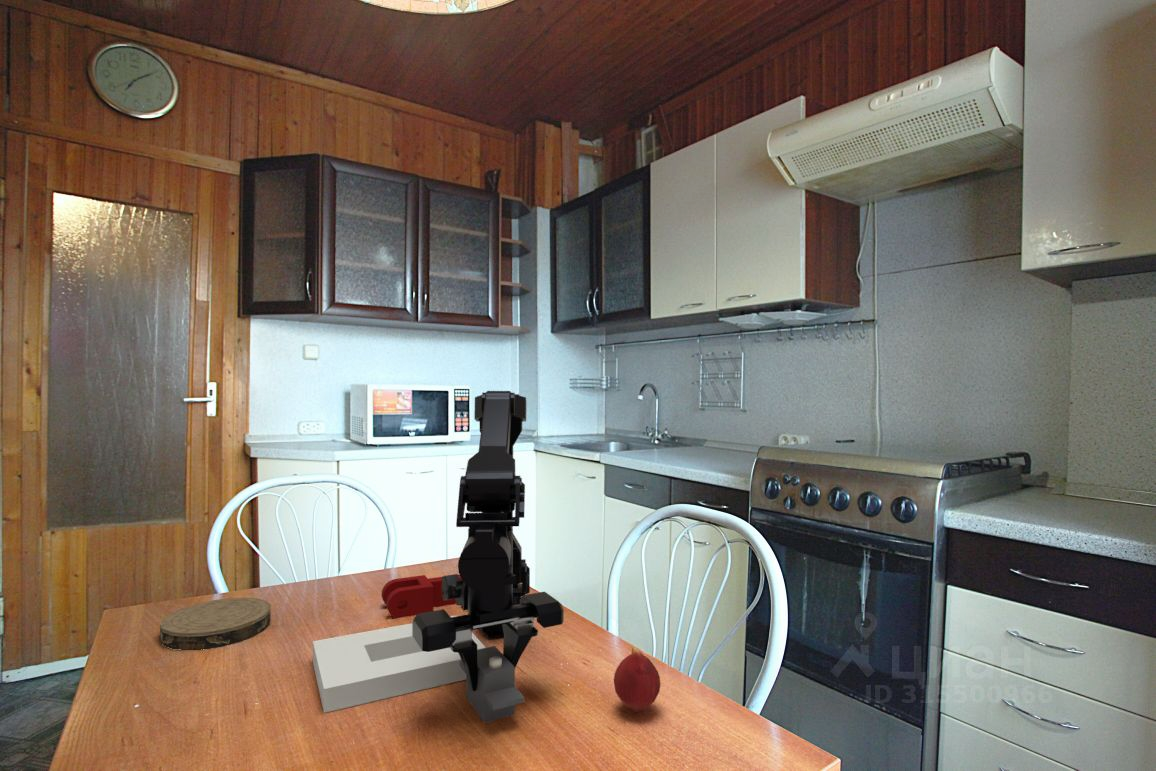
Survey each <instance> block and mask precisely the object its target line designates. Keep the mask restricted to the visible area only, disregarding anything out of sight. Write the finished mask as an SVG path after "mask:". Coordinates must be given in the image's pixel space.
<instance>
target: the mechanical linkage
mask: <svg viewBox="0 0 1156 771" xmlns="http://www.w3.org/2000/svg"><path fill="white" fill-rule="evenodd" d="M458 576H459V580H462V579H461V577H460V574H458ZM381 599H382V602H383V603H384V604H385V606H386V609H387V611H388V614H389V615H390V616H391V617H392V618H394V619H400V618H406V617H407V618H408V617H413V616H414V617H415V616H416V615H417V614H419V613H425V612H430V611H434V608H437V607H445V606H451V605H456V599H451V600H443V596H442V576H437V577H431V578H428V577H427V576H426V575H425V574H423V575H415V576H408V577H400V578H394V579H390V580H389V581H387V582H386V584H384V586H383V588H382V590H381Z"/></svg>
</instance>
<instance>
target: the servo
mask: <svg viewBox="0 0 1156 771" xmlns="http://www.w3.org/2000/svg"><path fill="white" fill-rule="evenodd" d="M459 665H460V667H461V668H462V669H463V671H464V672H465V669H464V666H463V663H462V661H459ZM465 674H466V672H465ZM515 675H516V668H515V667H514V666H513V665H512V664H511V663H510V661H509V660H508V659H507V658H506V657H505V656H504V655H503V652H501V651H500V650H499V648H498V647H497V646H496V645H493V646H488V647H486V648H483V649H478V650H477V676H478V681H477V688H476V691H473V690H472V689H471V687H470V684H469V681H468V678H467V675H466V680H465V681H466V682H465V685H466V686H465V687H466V688H465V689H466V690H465V691H466V693H465V696H466V699H467V700H468V702H469V703H470V705H471V706H472V708H473V709H474V711H475V712H476V713H477V715H478V716H479V718H480V720H482V723H483V724H486V723H489V722H493V721H496V720H501V719H505V718H507V717H512V716H515V714H516V713H515V706H516V705H520V704H522V703H523V704H524V703H525V696H524V695H523V694H522V692H520V691H519V689H517V687H516V681H515V680H516V676H515Z"/></svg>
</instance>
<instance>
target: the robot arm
mask: <svg viewBox="0 0 1156 771" xmlns="http://www.w3.org/2000/svg"><path fill="white" fill-rule="evenodd" d="M473 414H474V415H473V416H474V417H473V418H474V420H475V422H477V423H479V433H480V436H479V446H478V450H477V451H478V452H476V453H475V454H474V455H473V456H471V457H470V458H469V459H468V460H467V465H466V469H465V474H464V475H461V476H460V479H459V487H458V488H459V489H458V500H457V502H458V503H457V513H456V522H455V524H456V528H467V535H468V536H467V540H466V541H465V544H464V547H463V549H462V550H461V553H460V556H459V558H458V562H457V569H458V574H457V573H454V574H449V575H448V574H447V575H442V576H441V577H442V596H443V600H451V599H456V604H455V605H456V606H460V609H461V610H463V611H467V614H463V615H462V614H461V615H457V617H450V616H451V615H449V613H448V612H447V611H446V610H445V608H443V609H436V610H433V611H430V612H425V613H419V614H417V615H415V616H414V618H413V620H412V636H413V637H414V639H415V640H416V642H417V643H418V645H419V647H420V648H421V650H422V651H425V652H431V651H435V650H440V649H445V648H451V650H452V651H453V652H458V653H459V655H460V658H461V661H462V663H463V666H464V669H465V672H466V675H467V678H468V681H469V684H470V687H471V689H472V690H473V691H476V688H477V681H478V676H477V644H476V643H475V642H474V640H473V639H472V633H473V631H474V630H479V631H481V633H483V634H484V636H485V637H486V638H487V639H488V640H492V639H498V638H502V637H503V650H502V651H503V652H502V654H503V655H504V656H505V657H506V658H507V659H508V660H509V661H510V663H511V664H512V665H513V666H514V667H515V669H516V667H517V665H518V662H519V660H520V658H521V657H522V655H523V653H524V651H525V650H526V648H527V647H528V644H529V643H530V641H531V640H532V638H534V637H537V636H538V634H539V630H538V629H537V628H536V627H535V626H534V622H535V619H536V623H537V624H539V625H540V626H541V627H542V628H543V629H546V628H550V627H555V626H556V627H557V626H560V625H561V626H562V625H563V623H564V611H565V610H564V608H563V604H562V602H560V601H559V600H557V598H555V597H553V596H552V595H550V594H549V593H548V592H546V591H541V592H534V593H533V592H532V593H530V592H531V590H530V589H531V586H530V582H531V581H530V580H531V578H530V574H531V571H530V570H531V568H530V567H529V566H528V564H527V563H526V561H527V560H526V559H525V558H522V557H523V556H522V554H523V553H522V552H523V550H522V546H521V544H520V543H519V541H518V539H517V537H516V536H515V534H514V529H513V528H514V527H520V522H521V521H520V520H521V519H520V518H523V519H524V518H525V505H526V504H525V502H526V500H525V496H526V484H525V483H524V482H523V478H522V477H521V475H516V459H515V458H514V446H515V445H516V442H517V441H518V439H519V437H520V436H521V433H522V432H523V422H524V423H525V422H527V397H526V396H522V395H520V393H519V394H518V393H517V394H516V393H515V392H512V391H511V390H487V391H486V392H482V393H481V394H480V395H477V396H475V397H474V413H473ZM465 508H466V511H467V512H465ZM458 575H460V577H461V579H462V580H459V576H458Z"/></svg>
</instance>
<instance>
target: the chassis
mask: <svg viewBox="0 0 1156 771" xmlns="http://www.w3.org/2000/svg"><path fill="white" fill-rule="evenodd" d="M449 616H450V617H457V616H458V615H449ZM472 639H473V640H474V642H475V643H476V644H477V650H478V649H483V648H487V647H486V646H485V645H484V644H483V643H482V641H480V640H479V638H478V637H477V636H476V634H474V632H472ZM459 661H461V658H460V655H459V653H458V652H453V651H452V650H451V648H445V649H440V650H435V651H431V652H425V651H422V650H421V648H420V647H419V645H418V643H417V642H416V640H415V639H414V637H413V636H412V623H407V624H400V625H395V626H389V627H384V628H378V629H373V630H368V631H363V632H357V633H351V634H345V635H339V636H335V637H330V638H325V639H319V640H313V641H312V664H313V669H314V673H315V679H316V683H317V688H318V692H319V698H320V702H321V707H322V710H323V714H325V713H329V712H333V711H338V710H343V709H346V708H351V707H356V706H359V705H364V704H368V703H373V702H377V701H381V700H385V699H389V698H390V699H391V698H393V697H399V696H402V695H406V694H410V693H411V694H412V693H413V692H414V693H415V692H419V691H422V690H427V689H432V688H437V687H441V686H444V685H449V684H453V683H457V682H461V681H466V674H465V672H464V671H463V669H462V668H461V667H460V665H459Z"/></svg>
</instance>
